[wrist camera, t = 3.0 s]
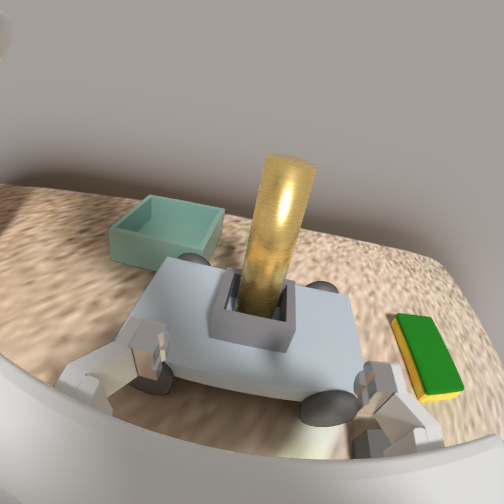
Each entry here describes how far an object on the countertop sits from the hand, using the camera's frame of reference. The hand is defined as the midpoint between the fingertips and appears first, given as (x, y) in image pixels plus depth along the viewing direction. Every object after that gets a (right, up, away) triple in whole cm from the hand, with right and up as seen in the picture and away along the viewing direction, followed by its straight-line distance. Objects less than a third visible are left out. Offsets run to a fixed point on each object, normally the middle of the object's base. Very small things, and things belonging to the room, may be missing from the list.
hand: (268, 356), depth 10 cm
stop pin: (-1, -2, +16) cm, 16 cm away
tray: (-13, +5, +32) cm, 35 cm away
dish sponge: (+22, -11, +20) cm, 32 cm away
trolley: (-2, -6, +18) cm, 19 cm away
